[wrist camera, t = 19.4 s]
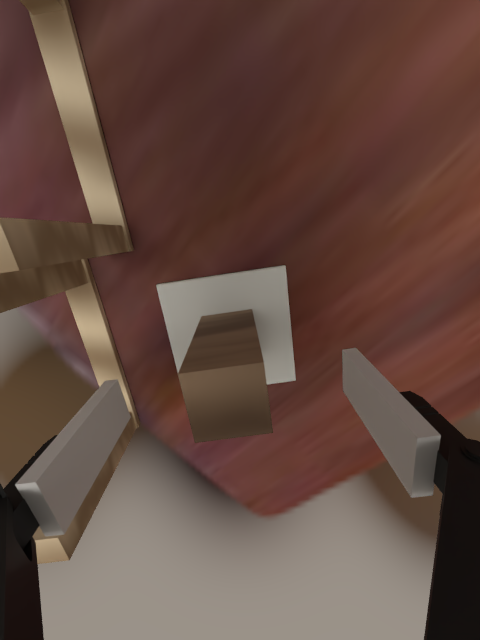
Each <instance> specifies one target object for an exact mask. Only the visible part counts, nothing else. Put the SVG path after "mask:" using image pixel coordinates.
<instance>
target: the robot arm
mask: <svg viewBox="0 0 480 640" xmlns="http://www.w3.org/2000/svg"><path fill="white" fill-rule="evenodd" d="M342 364H343V392H344V393H345V395H346V396H347V398H348V399H349V401H350V403H351V404H352V406H353V407H354V409H355V410H356V412H357V413H358V415H359V417H360V418H361V420H362V421H363V423H364V424H365V426H366V428H367V429H368V431H369V432H370V434H371V435H372V437H373V439H374V440H375V442H376V443H377V445H378V446H379V448H380V449H381V451H382V453H383V454H384V456H385V457H386V459H387V460H388V462H389V464H390V465H391V467H392V468H393V470H394V471H395V473H396V474H397V476H398V478H399V479H400V481H401V482H402V484H403V485H404V487H405V489H406V490H407V492H408V493H409V495H410V496H411V498H412V497H421V496H430V495H433V490H434V483H435V484H436V486H437V487H438V488H439V490H440V491H441V492H442V493H443V496H442V503H441V510H440V519H439V527H438V534H437V542H436V551H435V558H434V566H433V573H432V582H431V589H430V597H429V605H428V613H427V620H426V629H425V636H424V640H480V442H479V441H476V440H471V439H467V438H465V437H464V436H463V435H462V434H461V433H460V432H459V431H458V430H457V429H456V428H455V427H454V426H453V425H451V424H450V423H449V422H448V421H447V420H446V419H445V418H444V417H443V416H442V415H441V414H439V413H438V412H437V411H436V410H435V409H434V408H433V407H431V405H430V404H429V403H428V402H427V401H426V400H424V399H423V398H422V397H421V396H419V395H417V394H415V393H413V392H411V391H406V392H398V391H397V390H396V389H395V388H394V387H393V385H392V384H391V383H390V382H389V381H388V380H387V379H386V378H385V377H384V376H383V375H382V374H381V373H380V372H379V371H378V370H377V369H376V368H375V367H374V366H373V365H372V364H371V363H370V362H369V361H368V360H367V359H366V358H365V357H364V356H363V355H362V354H361V353H360V352H359V351H358V350H357V349H356V348H351V349H343V350H342ZM130 418H131V416H130V413H129V411H128V408H127V405H126V402H125V399H124V396H123V393H122V390H121V387H120V384H119V382H118V379H115V380H107V381H104V383H103V384H102V385H101V386H100V387H99V388H98V390H97V391H96V392H95V393H94V394H93V395H92V397H91V398H90V399H89V400H88V401H87V402H86V403H85V405H84V406H83V407H82V408H81V409H80V410H79V411H78V413H77V414H76V415H75V416H74V417H73V418H72V420H71V421H70V422H69V423H68V424H67V425H66V426H65V428H64V429H63V430H62V431H61V432H60V433H59V434H58V435H56V436H54V437H53V438H51V439H50V440H49V441H47V442H46V443H45V444H43V446H42V447H41V448H40V449H39V450H38V451H37V452H36V453H35V456H33V457H32V458H31V459H30V460H29V461H28V464H25V466H24V467H23V468H22V469H21V470H20V471H19V472H18V473H17V475H16V476H15V477H14V478H13V479H12V480H11V481H10V482H9V484H8V485H7V486H6V487H5V488H4V489H3V487H2V486H1V484H0V640H44V638H43V626H42V615H41V614H42V613H41V601H40V589H39V577H38V565H37V552H36V542H35V540H34V538H33V537H32V536H33V535H34V533H35V532H36V530H37V529H38V527H40V528H41V530H42V532H43V534H44V535H45V537H46V536H55V535H64V534H65V533H66V531H67V529H68V527H69V525H70V524H71V522H72V520H73V518H74V517H75V515H76V513H77V511H78V510H79V508H80V506H81V504H82V502H83V501H84V499H85V497H86V495H87V494H88V492H89V490H90V488H91V487H92V485H93V483H94V481H95V480H96V478H97V476H98V474H99V472H100V471H101V469H102V467H103V465H104V464H105V462H106V460H107V458H108V457H109V455H110V453H111V451H112V450H113V448H114V446H115V444H116V442H117V441H118V439H119V437H120V435H121V434H122V432H123V430H124V428H125V427H126V425H127V423H128V421H129V419H130Z"/></svg>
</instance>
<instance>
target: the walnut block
mask: <svg viewBox="0 0 480 640" xmlns="http://www.w3.org/2000/svg"><path fill="white" fill-rule="evenodd" d="M178 377H179V381H180V385H181V389H182V393H183V397H184V401H185V405H186V409H187V413H188V417H189V421H190V425H191V429H192V433H193V437H194V441H195V443H198V442H205V441H213V440H221V439H229V438H236V437H244V436H252V435H259V434H267V433H273V429H272V421H271V413H270V406H269V398H268V390H267V383H266V375H265V367H264V361H263V356H262V351H261V347H260V342H259V338H258V333H257V329H256V324H255V320H254V315H253V311H252V309H249V310H242V311H235V312H228V313H221V314H214V315H207V316H201V319H200V321H199V323H198V326H197V328H196V331H195V333H194V336H193V338H192V341H191V343H190V346H189V348H188V350H187V353H186V355H185V358H184V360H183V363H182V365H181V368H180V370H179V372H178Z"/></svg>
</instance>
